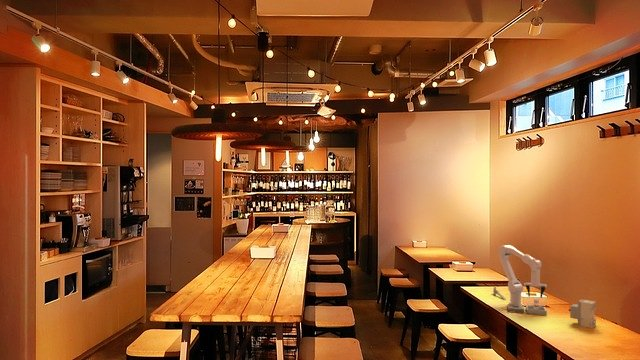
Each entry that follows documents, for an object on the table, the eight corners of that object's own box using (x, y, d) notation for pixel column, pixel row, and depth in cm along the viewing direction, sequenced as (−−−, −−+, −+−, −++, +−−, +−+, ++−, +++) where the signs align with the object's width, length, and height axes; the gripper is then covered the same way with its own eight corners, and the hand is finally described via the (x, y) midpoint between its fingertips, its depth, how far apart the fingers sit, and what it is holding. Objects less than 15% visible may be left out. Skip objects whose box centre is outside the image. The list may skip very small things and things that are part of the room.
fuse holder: (507, 307, 341) (507, 304, 341) (522, 309, 338) (522, 305, 338) (508, 311, 330) (508, 308, 330) (524, 313, 327) (524, 309, 327)
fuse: (533, 310, 332) (533, 299, 332) (538, 311, 331) (538, 299, 331) (533, 311, 329) (534, 300, 329) (539, 312, 328) (539, 300, 328)
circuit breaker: (571, 320, 310) (571, 297, 310) (595, 325, 300) (596, 301, 300) (567, 323, 305) (567, 299, 305) (592, 328, 295) (592, 303, 295)
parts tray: (525, 309, 337) (525, 305, 337) (544, 311, 334) (544, 306, 334) (527, 313, 326) (527, 309, 326) (546, 315, 322) (546, 310, 322)
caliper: (493, 294, 385) (493, 286, 385) (494, 294, 385) (494, 286, 385) (504, 300, 364) (504, 292, 364) (506, 300, 364) (506, 292, 364)
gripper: (524, 277, 334) (524, 297, 334) (547, 279, 329) (547, 299, 329) (523, 275, 341) (523, 295, 340) (546, 277, 336) (545, 297, 336)
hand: (535, 297), depth 335 cm, fingers open, 7 cm apart
